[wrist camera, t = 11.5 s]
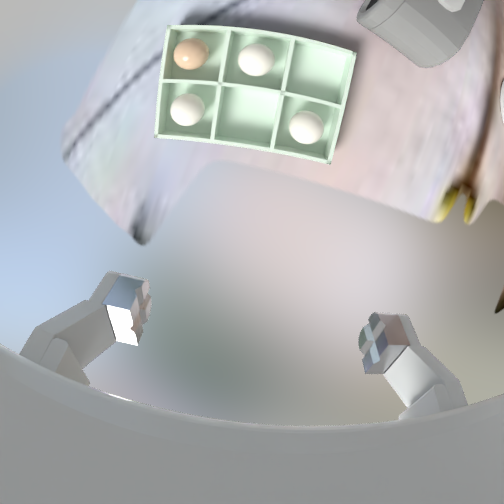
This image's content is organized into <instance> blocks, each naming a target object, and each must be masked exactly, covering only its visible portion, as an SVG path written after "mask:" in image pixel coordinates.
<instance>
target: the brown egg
mask: <svg viewBox="0 0 504 504" xmlns="http://www.w3.org/2000/svg"><path fill="white" fill-rule="evenodd" d="M173 57H174V61H175V62H176V64H177V65H178V66H179V67H181V68H183V69H187V70H193V69H197V68H199V67H201V66H202V65H204V64H205V63H206V61H207V60H208V57H209V48H208V46H207V44H206V43H205V42H204V41H202V40H200V39H197V38H188V39H185V40H183V41H181V42H180V43H179V44H178V45H177V46H176V48H175V50H174V54H173Z"/></svg>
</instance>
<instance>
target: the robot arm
mask: <svg viewBox="0 0 504 504" xmlns="http://www.w3.org/2000/svg"><path fill="white" fill-rule="evenodd" d="M500 105H501V114H502V118H503V122H504V81H503V84H502V87H501V95H500ZM149 288H150V286H149V281H148V280H147V279H144V278H140V277H135V276H131V275H126V274H121V273H117V272H113V271H109V272H107V273H106V275H105V276H104V278H103V279H102V281H101V282H100V284H99V285H98V287H97V288H96V290H95V291H94V293H93V295H92V296H91V298H90V299H89V301H87V300H84V301H82V302H80V303H79V304H77V305H75V306H73V307H71V308H70V309H68V310H66V311H64V312H62V313H60V314H59V315H57V316H55V317H53V318H51V319H50V320H48V321H46V322H44V323H42V324H41V325H39V326H37V327H36V328H35V329H34V330H33V332H32V334H31V335H30V337H29V339H28V340H27V342H26V344H25V345H24V347H23V349H22V351H21V352H20V354H17V353H15V352H13V351H11V350H10V349H8V348H6V347H5V346H3V345H1V344H0V504H504V394H501V395H498V396H496V397H493V398H490V399H487V400H484V401H481V402H478V403H474V404H471V405H468V404H467V401H466V398H465V395H464V392H463V389H462V386H461V384H460V381H459V380H458V379H457V378H456V377H455V376H454V375H453V374H452V373H451V372H450V371H449V370H448V369H447V368H446V367H445V366H444V365H443V364H442V363H441V362H440V361H439V360H438V359H437V358H436V357H435V356H434V355H433V354H432V353H431V352H430V351H429V350H428V349H427V348H426V347H424V346H421V344H420V342H419V340H418V337H417V335H416V332H415V330H414V328H413V326H412V323H411V321H410V318H409V317H408V316H407V315H406V314H390V313H378V312H374V313H373V314H371V316H370V317H369V319H368V320H369V324H367V325H366V326H364V327H363V329H362V330H361V332H360V335H359V349H360V351H361V352H362V353H363V354H364V357H363V359H362V362H363V365H364V370H365V374H384V377H385V378H386V379H387V381H388V382H389V383H390V385H391V386H392V387H393V389H394V390H395V392H396V393H397V394H398V396H399V397H400V398H401V399H402V401H403V402H404V404H405V405H406V406H407V409H406V410H405V411H404V412H402V413H401V414H400V415H399V420H394V421H387V422H378V423H369V424H355V425H340V426H339V425H338V426H288V425H269V424H268V425H267V424H256V423H245V422H236V421H229V420H220V419H214V418H208V417H202V416H196V415H191V414H185V413H181V412H176V411H171V410H167V409H163V408H159V407H154V406H151V405H147V404H143V403H139V402H136V401H132V400H129V399H125V398H122V397H119V396H116V395H113V394H110V393H107V392H104V391H101V390H98V389H95V388H93V387H90V386H89V384H90V382H89V379H88V378H87V376H86V375H85V373H84V372H83V370H82V369H83V368H84V367H85V366H87V365H88V364H89V363H90V362H92V361H93V360H94V359H95V358H97V357H98V356H99V355H100V354H101V353H103V352H104V351H105V350H107V349H108V348H109V347H110V346H111V345H113V344H114V343H115V342H116V340H117V341H121V342H125V343H129V344H133V345H138V343H139V341H140V338H141V336H142V333H143V327H142V325H143V324H145V323H146V322H147V321H148V318H149V316H150V311H151V297H150V295H149V294H148V291H149Z"/></svg>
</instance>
